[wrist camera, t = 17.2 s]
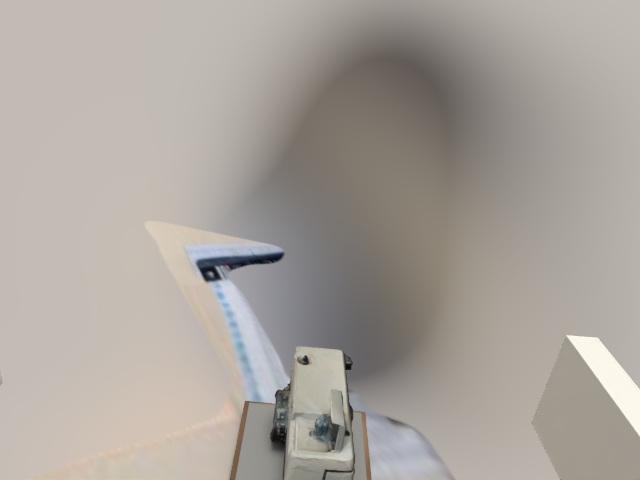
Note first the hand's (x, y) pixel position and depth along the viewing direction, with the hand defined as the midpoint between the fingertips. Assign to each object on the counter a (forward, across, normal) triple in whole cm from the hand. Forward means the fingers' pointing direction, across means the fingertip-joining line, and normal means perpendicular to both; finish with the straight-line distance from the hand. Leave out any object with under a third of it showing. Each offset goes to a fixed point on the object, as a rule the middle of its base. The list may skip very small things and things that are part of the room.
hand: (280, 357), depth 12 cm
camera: (+26, +4, -33) cm, 42 cm away
